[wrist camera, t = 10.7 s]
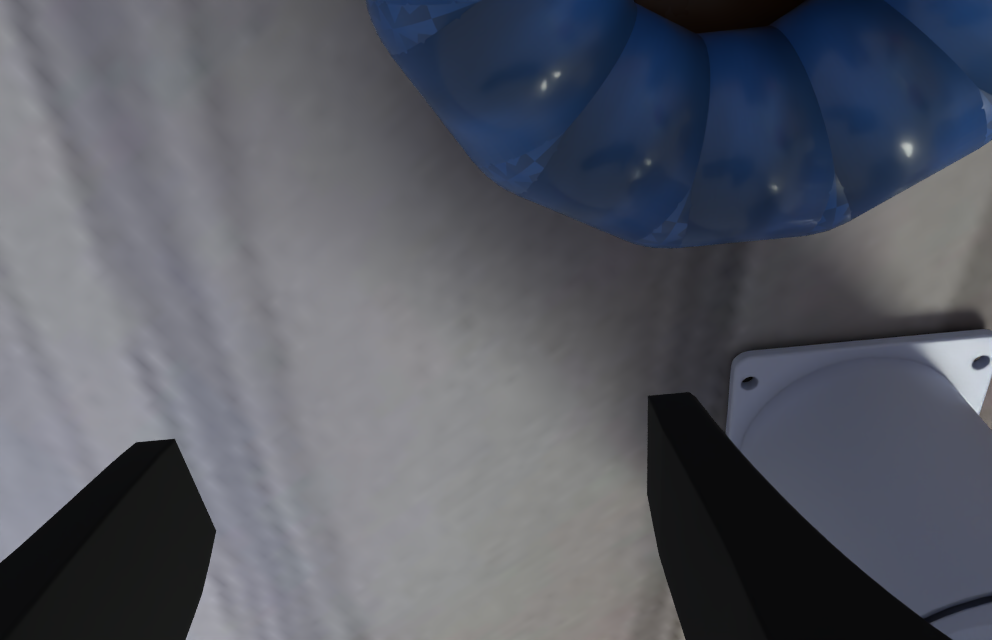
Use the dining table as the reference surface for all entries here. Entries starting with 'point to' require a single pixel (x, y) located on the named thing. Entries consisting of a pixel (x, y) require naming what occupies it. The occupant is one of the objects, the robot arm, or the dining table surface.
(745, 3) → the wooden peg stand
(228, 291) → the dining table surface
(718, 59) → the blue swim ring
